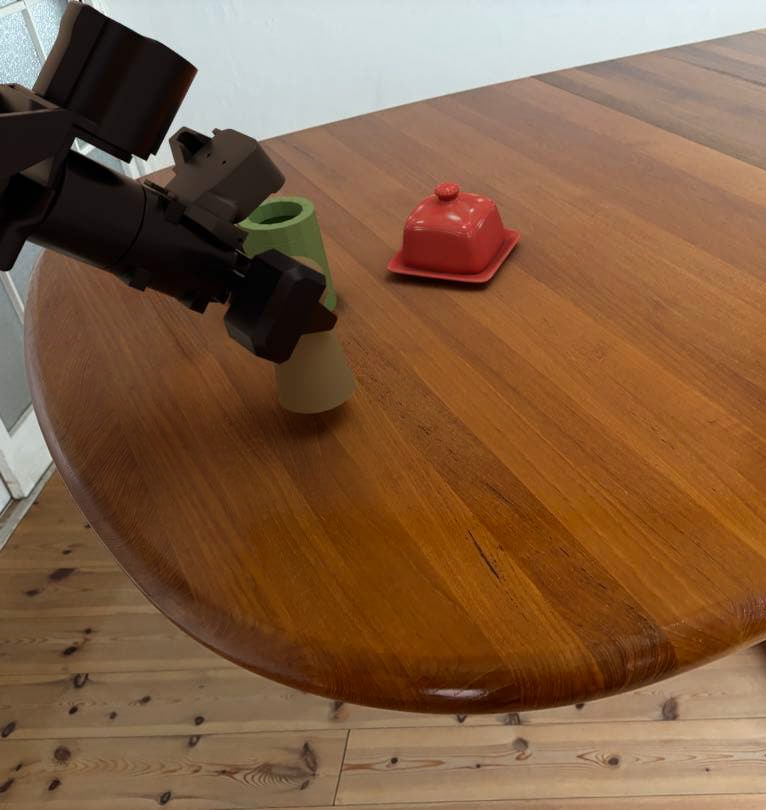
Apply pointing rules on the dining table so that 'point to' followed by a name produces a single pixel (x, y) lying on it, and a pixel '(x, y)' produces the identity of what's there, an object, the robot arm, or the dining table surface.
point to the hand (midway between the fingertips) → (314, 311)
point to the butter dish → (454, 237)
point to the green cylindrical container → (288, 233)
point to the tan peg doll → (315, 369)
